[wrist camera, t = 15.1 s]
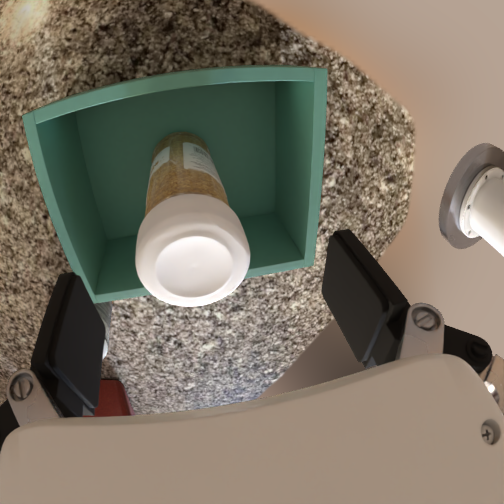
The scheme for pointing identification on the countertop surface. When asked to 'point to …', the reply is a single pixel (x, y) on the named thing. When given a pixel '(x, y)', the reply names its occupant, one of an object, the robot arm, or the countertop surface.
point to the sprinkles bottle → (189, 228)
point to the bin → (221, 151)
